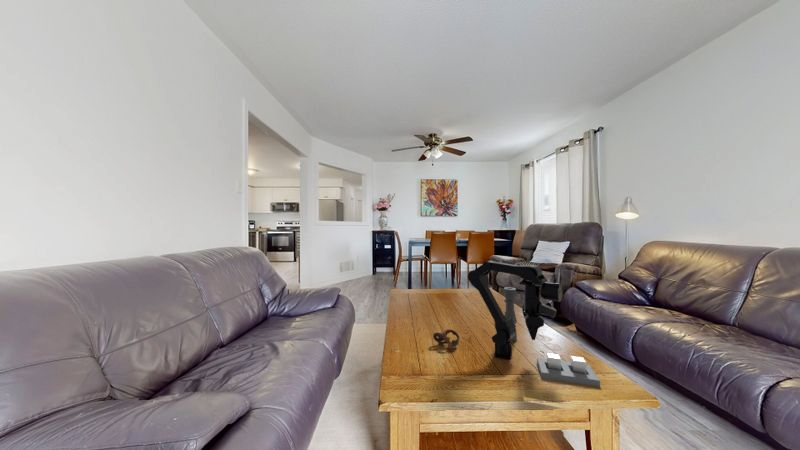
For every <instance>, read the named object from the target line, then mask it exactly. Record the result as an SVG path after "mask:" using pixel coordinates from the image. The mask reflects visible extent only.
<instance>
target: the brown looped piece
mask: <svg viewBox="0 0 800 450" xmlns="http://www.w3.org/2000/svg"><path fill="white" fill-rule="evenodd" d="M450 333H452V335H454V336H456V339H455V340H453V339H452V340H450V339H451V338H450V337H449V336H448V334H450ZM432 335H433V337H432V338H433V340H434V341H435V342H437V344H438V345H440V344H441V342H443V341H445V342H446V343H447V345H448V346H447V349H448V350H451V349H453V348H455V347H456V346H458V345H459V343H460V335H459V334H458V333H457V331H455V330H453V329H445V330H444V331H442V332H437V331H436V332H435V333H433V334H432Z"/></svg>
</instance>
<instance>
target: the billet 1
mask: <svg viewBox="0 0 800 450" xmlns="http://www.w3.org/2000/svg"><path fill="white" fill-rule="evenodd" d="M561 358H562V357H560V355H559V354H558V353H550V352H547V353H546V359H547V369H551V370H558V371H561V361H562V359H561Z"/></svg>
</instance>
